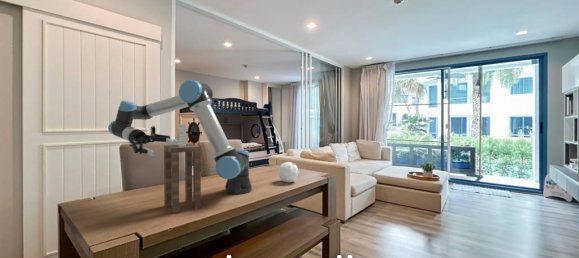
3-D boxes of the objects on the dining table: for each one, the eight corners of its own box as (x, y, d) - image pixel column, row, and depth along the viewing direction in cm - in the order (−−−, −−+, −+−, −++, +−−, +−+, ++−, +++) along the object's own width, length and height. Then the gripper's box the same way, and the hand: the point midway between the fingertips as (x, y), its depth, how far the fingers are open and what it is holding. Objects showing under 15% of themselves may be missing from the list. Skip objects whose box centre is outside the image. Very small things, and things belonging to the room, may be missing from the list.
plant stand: (164, 205, 116) (163, 145, 115) (190, 200, 124) (190, 144, 123) (173, 213, 106) (172, 148, 105) (200, 207, 114) (200, 146, 113)
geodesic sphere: (306, 172, 167) (294, 155, 169) (301, 176, 154) (288, 158, 156) (289, 183, 170) (278, 167, 172) (283, 188, 157) (271, 171, 159)
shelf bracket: (173, 143, 127) (173, 123, 127) (179, 143, 129) (179, 123, 129) (178, 146, 110) (178, 124, 110) (185, 146, 112) (185, 124, 112)
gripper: (155, 135, 142) (184, 147, 136) (110, 150, 120) (143, 165, 114) (155, 123, 140) (184, 134, 134) (109, 136, 118) (142, 151, 111)
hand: (165, 149), depth 124 cm, fingers open, 13 cm apart
